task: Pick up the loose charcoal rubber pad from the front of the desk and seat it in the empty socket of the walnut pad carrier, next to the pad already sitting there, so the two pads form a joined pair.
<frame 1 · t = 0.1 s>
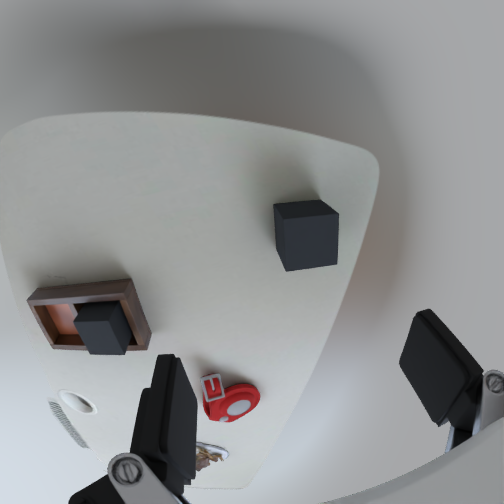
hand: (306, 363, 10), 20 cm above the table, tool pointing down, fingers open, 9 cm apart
loose pad: (298, 224, 28), on the table
frog figurine: (203, 452, 49), on the table
seated pad: (111, 312, 30), point 1 cm above the table, touching pad carrier
pad carrier: (89, 311, 30), on the table
tracker holder: (227, 388, 38), on the table
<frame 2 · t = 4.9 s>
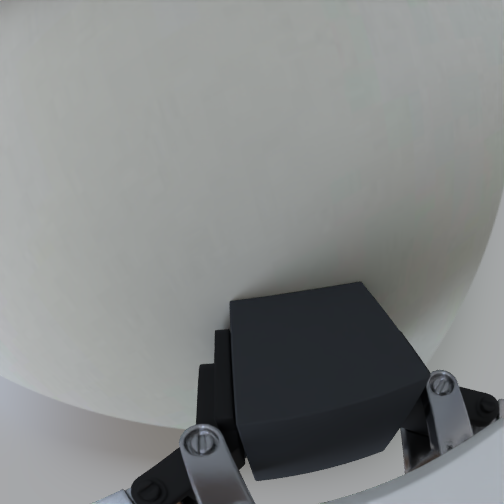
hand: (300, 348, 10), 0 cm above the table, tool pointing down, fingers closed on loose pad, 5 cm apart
loose pad: (298, 341, 11), on the table, touching gripper
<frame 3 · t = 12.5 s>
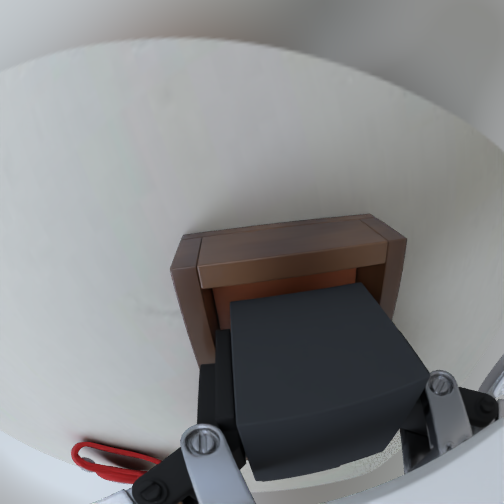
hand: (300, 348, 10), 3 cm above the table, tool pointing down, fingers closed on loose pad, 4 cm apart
loose pad: (298, 341, 11), point 3 cm above the table, touching gripper
pad carrier: (287, 356, 15), on the table
tracker holder: (129, 457, 21), on the table
when the fingers open (4 cm above the table, at t = 16.5 s): loose pad drops 2 cm, resting on pad carrier.
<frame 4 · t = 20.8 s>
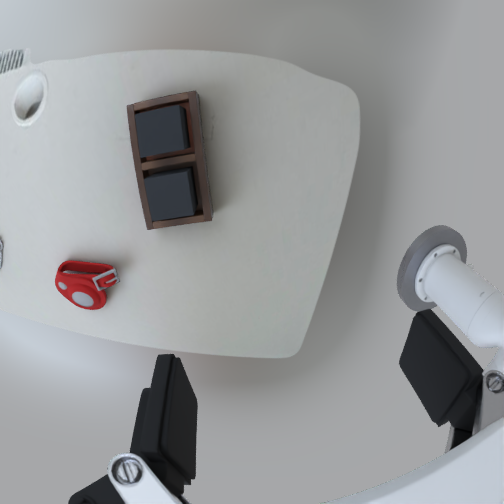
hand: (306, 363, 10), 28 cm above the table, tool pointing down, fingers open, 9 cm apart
loose pad: (168, 131, 30), point 1 cm above the table, touching pad carrier
seated pad: (176, 188, 33), point 1 cm above the table, touching pad carrier
pad carrier: (172, 159, 32), on the table
tracker holder: (93, 281, 38), on the table
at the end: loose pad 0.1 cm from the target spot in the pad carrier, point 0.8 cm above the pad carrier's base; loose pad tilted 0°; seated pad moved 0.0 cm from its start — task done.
